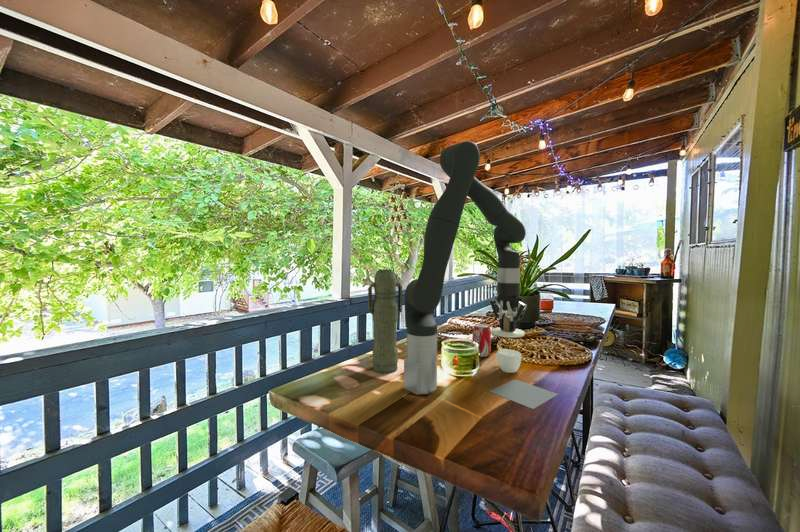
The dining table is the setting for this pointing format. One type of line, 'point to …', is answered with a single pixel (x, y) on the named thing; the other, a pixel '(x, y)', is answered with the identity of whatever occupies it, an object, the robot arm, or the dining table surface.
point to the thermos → (385, 320)
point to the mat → (524, 393)
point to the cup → (508, 360)
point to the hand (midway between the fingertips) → (507, 330)
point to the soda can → (482, 338)
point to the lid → (507, 330)
